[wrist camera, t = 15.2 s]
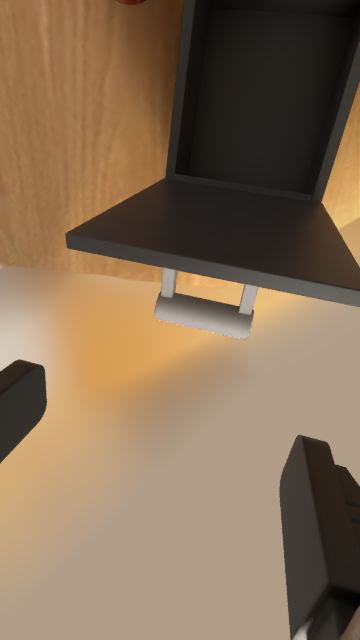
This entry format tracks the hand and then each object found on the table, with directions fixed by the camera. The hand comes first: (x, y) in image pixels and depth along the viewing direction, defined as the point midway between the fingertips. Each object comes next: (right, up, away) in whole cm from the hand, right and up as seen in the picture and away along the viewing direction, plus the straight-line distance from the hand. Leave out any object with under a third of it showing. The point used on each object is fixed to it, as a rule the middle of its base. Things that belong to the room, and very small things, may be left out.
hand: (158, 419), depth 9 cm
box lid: (+4, +10, +11) cm, 15 cm away
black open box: (+9, +24, +21) cm, 33 cm away
